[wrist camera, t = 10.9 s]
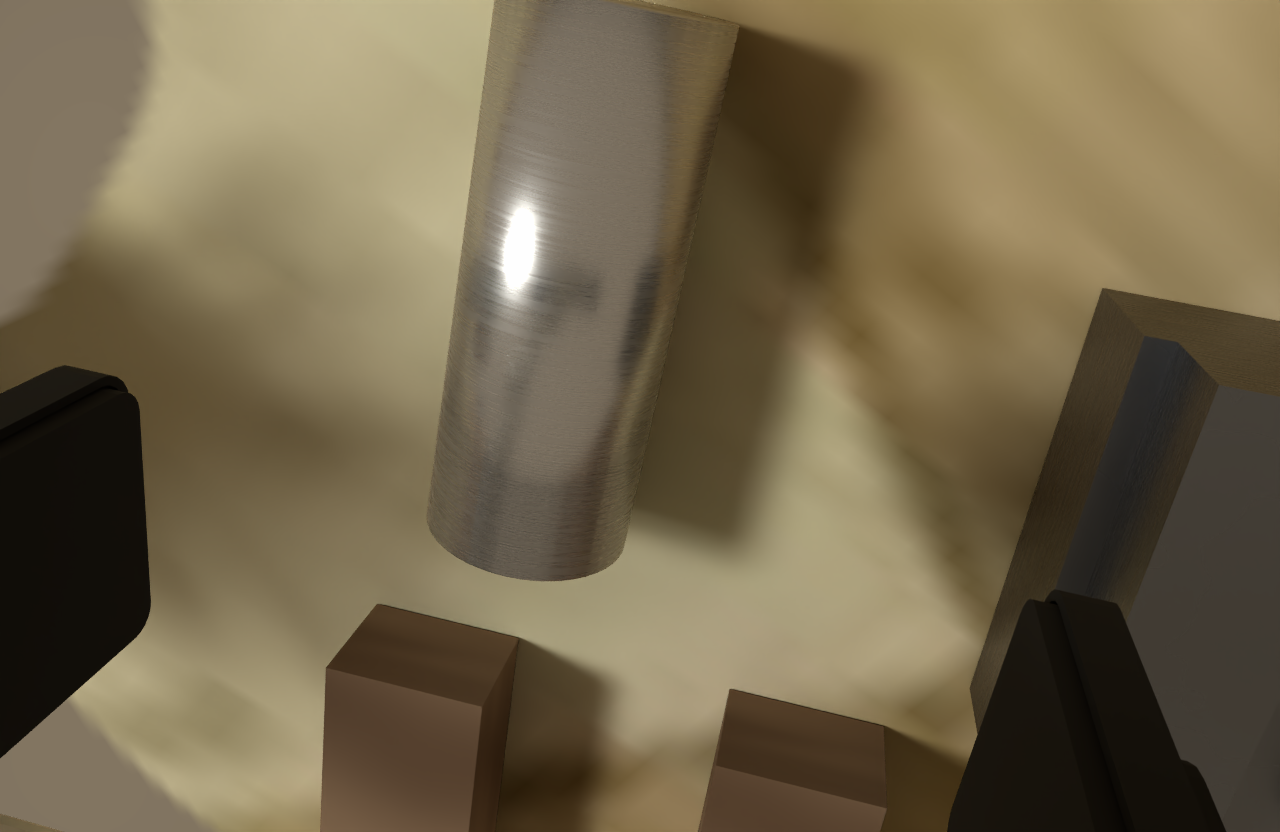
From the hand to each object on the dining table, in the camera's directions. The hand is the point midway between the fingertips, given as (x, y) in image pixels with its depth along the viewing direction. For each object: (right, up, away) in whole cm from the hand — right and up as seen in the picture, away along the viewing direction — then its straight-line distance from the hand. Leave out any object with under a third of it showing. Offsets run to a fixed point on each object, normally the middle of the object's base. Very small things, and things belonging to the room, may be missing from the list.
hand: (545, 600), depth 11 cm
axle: (+2, +4, +9) cm, 10 cm away
